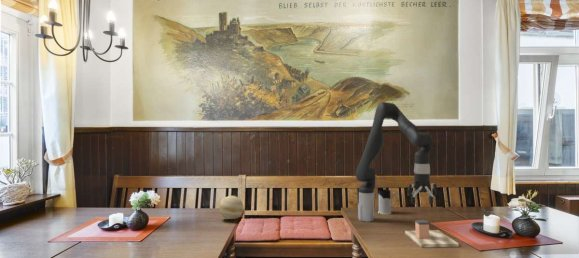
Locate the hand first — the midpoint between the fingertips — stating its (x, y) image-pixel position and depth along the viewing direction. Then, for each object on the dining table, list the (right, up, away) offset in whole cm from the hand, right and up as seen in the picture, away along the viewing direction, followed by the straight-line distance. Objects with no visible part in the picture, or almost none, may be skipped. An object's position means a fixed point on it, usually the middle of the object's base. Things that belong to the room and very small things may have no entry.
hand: (422, 204), depth 181 cm
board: (+4, -18, 0) cm, 19 cm away
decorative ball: (-104, -19, +45) cm, 115 cm away
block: (0, -17, 0) cm, 17 cm away
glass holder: (-1, -18, +57) cm, 60 cm away
